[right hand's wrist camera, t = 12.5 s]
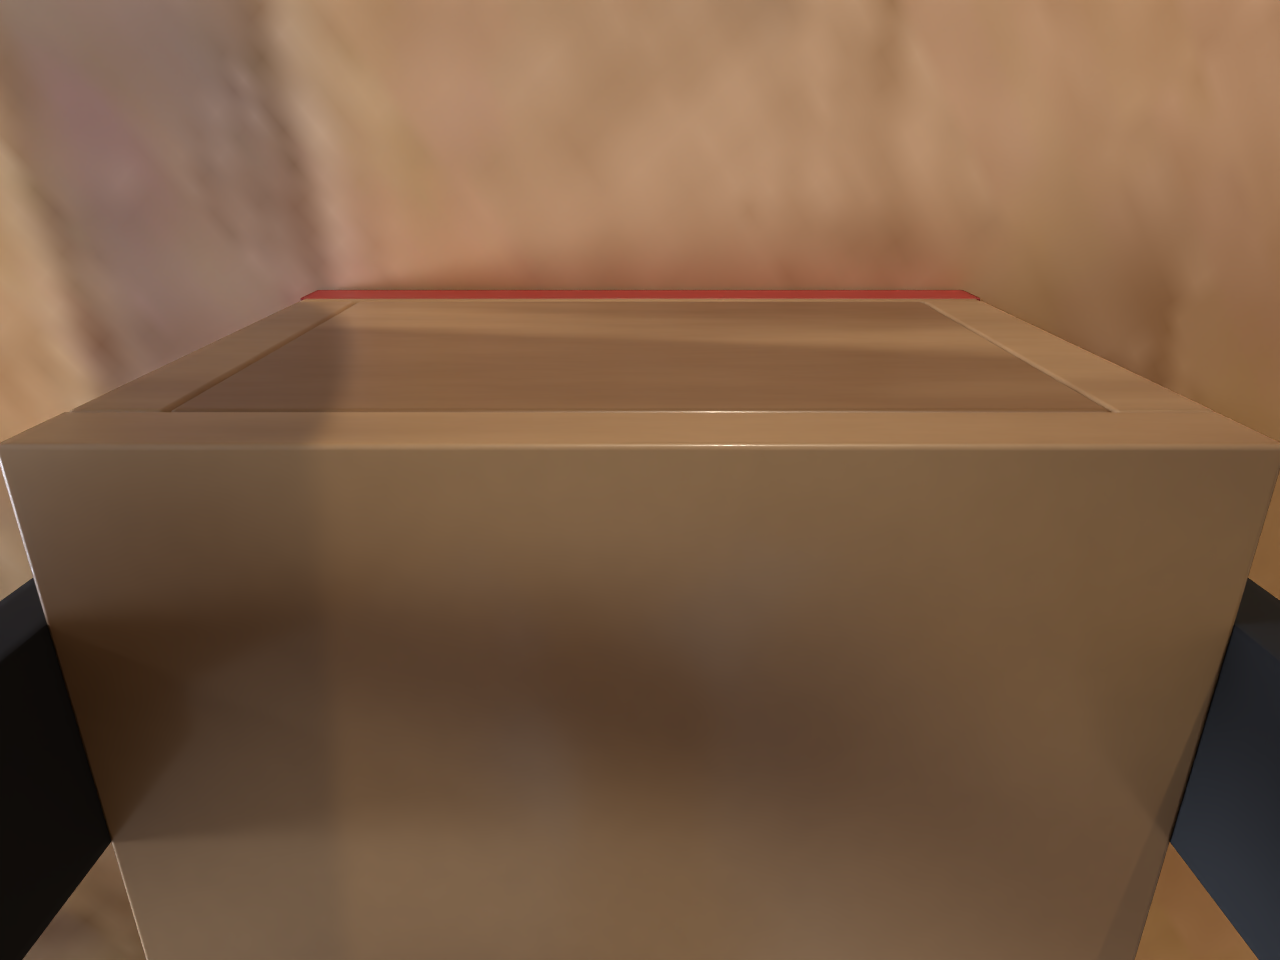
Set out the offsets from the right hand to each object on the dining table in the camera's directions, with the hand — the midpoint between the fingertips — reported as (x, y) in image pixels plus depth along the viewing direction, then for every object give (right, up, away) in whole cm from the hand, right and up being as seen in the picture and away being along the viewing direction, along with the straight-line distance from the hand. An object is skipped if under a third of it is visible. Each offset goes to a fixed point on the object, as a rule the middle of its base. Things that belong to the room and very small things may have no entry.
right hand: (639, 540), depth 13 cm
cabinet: (0, -5, +6) cm, 8 cm away
